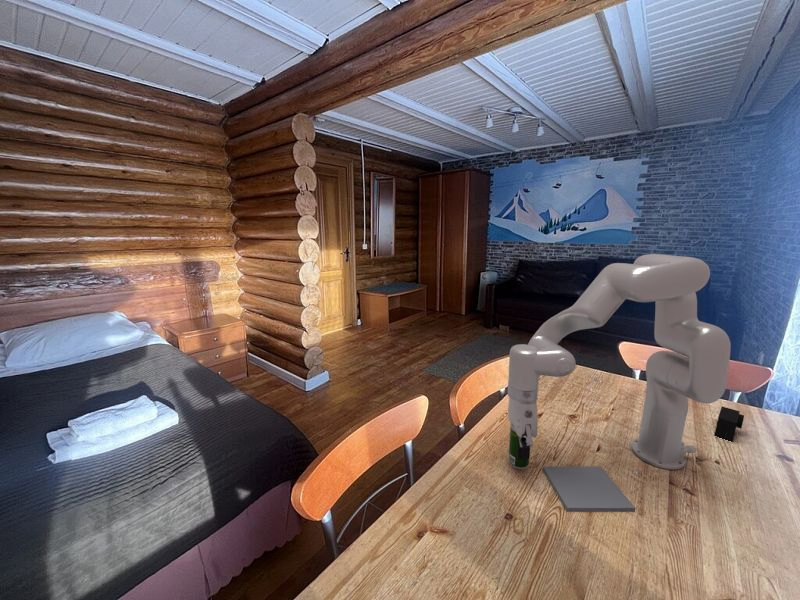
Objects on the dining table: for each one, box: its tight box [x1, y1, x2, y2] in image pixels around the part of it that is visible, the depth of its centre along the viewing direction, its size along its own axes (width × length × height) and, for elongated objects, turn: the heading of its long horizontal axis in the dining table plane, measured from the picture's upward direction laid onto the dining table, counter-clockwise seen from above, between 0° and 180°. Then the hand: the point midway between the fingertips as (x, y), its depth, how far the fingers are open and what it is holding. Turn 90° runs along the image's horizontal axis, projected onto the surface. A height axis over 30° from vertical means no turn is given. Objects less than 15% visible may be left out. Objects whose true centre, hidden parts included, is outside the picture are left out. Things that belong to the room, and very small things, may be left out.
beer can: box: [508, 423, 530, 470], centre depth 91 cm, size 5×5×12 cm
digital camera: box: [713, 405, 745, 443], centre depth 106 cm, size 10×5×7 cm, turn 132°
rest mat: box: [542, 465, 636, 513], centre depth 85 cm, size 16×14×1 cm
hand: (519, 450), depth 92 cm, fingers closed on beer can, 5 cm apart
